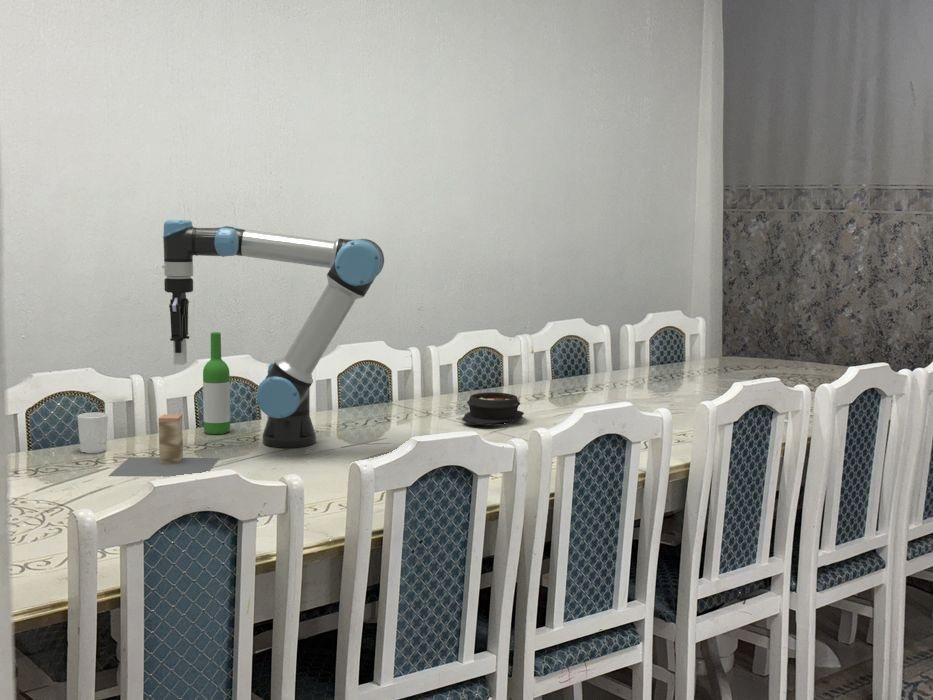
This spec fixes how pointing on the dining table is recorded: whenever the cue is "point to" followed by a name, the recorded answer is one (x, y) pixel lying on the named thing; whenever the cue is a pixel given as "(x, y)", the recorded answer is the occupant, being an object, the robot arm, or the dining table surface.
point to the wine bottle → (216, 390)
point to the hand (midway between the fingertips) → (180, 363)
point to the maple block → (170, 439)
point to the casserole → (493, 408)
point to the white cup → (93, 432)
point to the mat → (163, 467)
